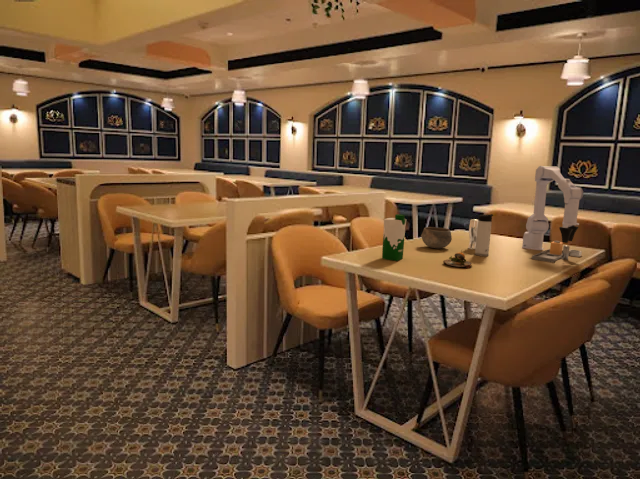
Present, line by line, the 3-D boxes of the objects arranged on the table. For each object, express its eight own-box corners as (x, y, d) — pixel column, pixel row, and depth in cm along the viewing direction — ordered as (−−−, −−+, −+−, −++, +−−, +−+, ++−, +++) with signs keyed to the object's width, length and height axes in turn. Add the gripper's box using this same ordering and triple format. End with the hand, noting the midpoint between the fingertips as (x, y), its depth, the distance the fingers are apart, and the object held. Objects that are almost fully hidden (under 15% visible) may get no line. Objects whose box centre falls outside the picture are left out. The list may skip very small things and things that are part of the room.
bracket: (568, 256, 247) (568, 250, 246) (570, 255, 250) (571, 249, 250) (578, 258, 244) (579, 252, 243) (581, 256, 247) (581, 250, 247)
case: (539, 255, 245) (540, 252, 245) (550, 251, 258) (550, 248, 257) (561, 259, 239) (561, 255, 238) (570, 255, 251) (571, 251, 251)
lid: (531, 259, 236) (531, 255, 236) (540, 255, 246) (540, 252, 245) (553, 262, 230) (554, 259, 229) (561, 259, 239) (562, 255, 239)
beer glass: (464, 247, 259) (467, 219, 257) (474, 247, 262) (477, 218, 260) (473, 250, 253) (476, 221, 251) (484, 249, 256) (487, 220, 254)
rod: (561, 260, 236) (562, 245, 235) (562, 259, 238) (564, 245, 237) (566, 261, 234) (568, 246, 233) (568, 260, 236) (570, 246, 235)
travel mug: (489, 256, 237) (494, 215, 234) (475, 255, 238) (479, 214, 235) (488, 254, 243) (492, 213, 240) (474, 253, 245) (478, 212, 241)
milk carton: (398, 261, 217) (401, 216, 213) (379, 258, 221) (381, 214, 218) (405, 258, 224) (408, 214, 221) (386, 255, 228) (389, 212, 225)
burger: (437, 263, 218) (439, 246, 216) (460, 262, 222) (461, 246, 221) (454, 269, 207) (455, 252, 205) (477, 268, 211) (479, 251, 210)
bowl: (416, 245, 260) (417, 226, 258) (442, 245, 264) (443, 226, 263) (429, 250, 247) (431, 230, 245) (456, 250, 251) (458, 230, 250)
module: (549, 254, 248) (551, 241, 247) (552, 253, 251) (553, 240, 250) (559, 255, 245) (560, 242, 244) (561, 254, 248) (563, 241, 247)
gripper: (575, 215, 224) (572, 244, 227) (584, 213, 235) (580, 241, 238) (559, 213, 229) (555, 242, 231) (568, 211, 240) (564, 239, 242)
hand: (567, 241), depth 235 cm, fingers open, 7 cm apart
